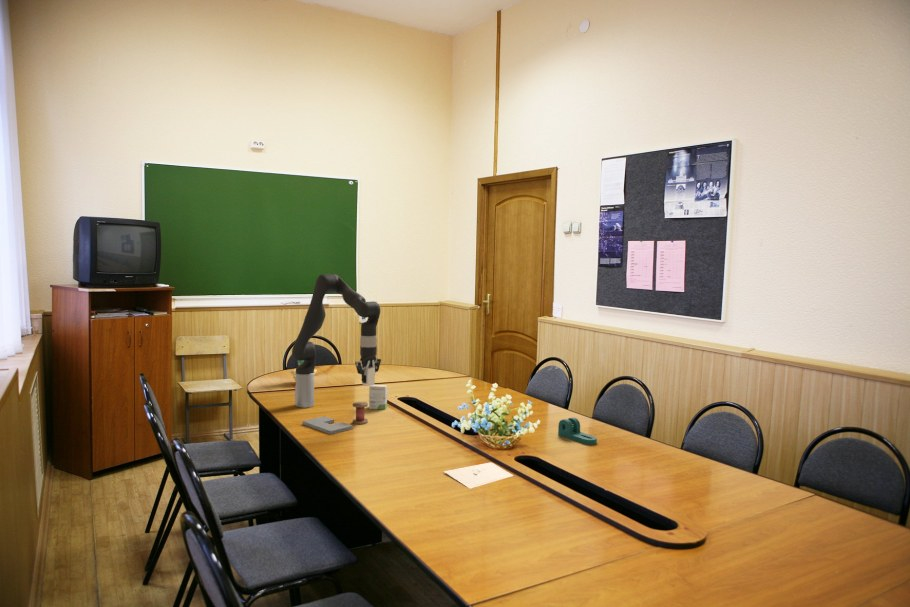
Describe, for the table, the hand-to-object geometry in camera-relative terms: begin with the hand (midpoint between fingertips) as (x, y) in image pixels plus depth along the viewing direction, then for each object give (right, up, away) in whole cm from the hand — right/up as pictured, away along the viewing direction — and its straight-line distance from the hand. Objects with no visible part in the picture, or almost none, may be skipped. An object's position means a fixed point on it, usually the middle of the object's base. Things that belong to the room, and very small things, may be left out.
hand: (368, 381), depth 275 cm
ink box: (0, -18, +34) cm, 38 cm away
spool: (-5, -20, +7) cm, 22 cm away
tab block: (0, -1, 0) cm, 1 cm away
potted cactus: (-52, -13, +88) cm, 103 cm away
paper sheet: (+52, -27, -62) cm, 85 cm away
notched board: (-19, -20, 0) cm, 28 cm away
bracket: (+94, -24, -13) cm, 98 cm away
